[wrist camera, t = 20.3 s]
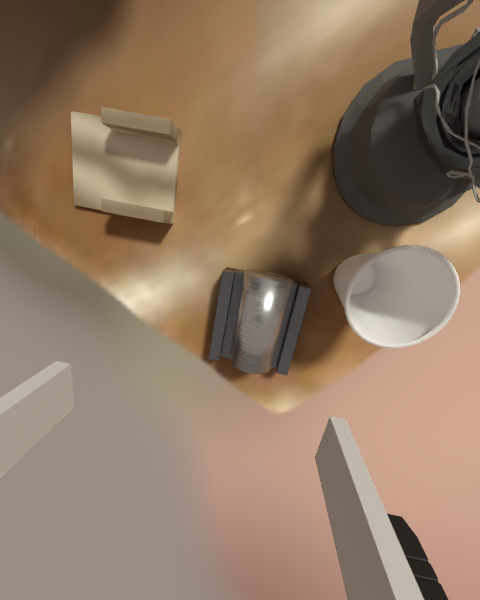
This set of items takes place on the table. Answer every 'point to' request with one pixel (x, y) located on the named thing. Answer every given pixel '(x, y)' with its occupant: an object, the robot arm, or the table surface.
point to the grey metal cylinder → (259, 320)
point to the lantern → (414, 129)
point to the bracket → (126, 163)
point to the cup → (397, 294)
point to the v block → (228, 314)
